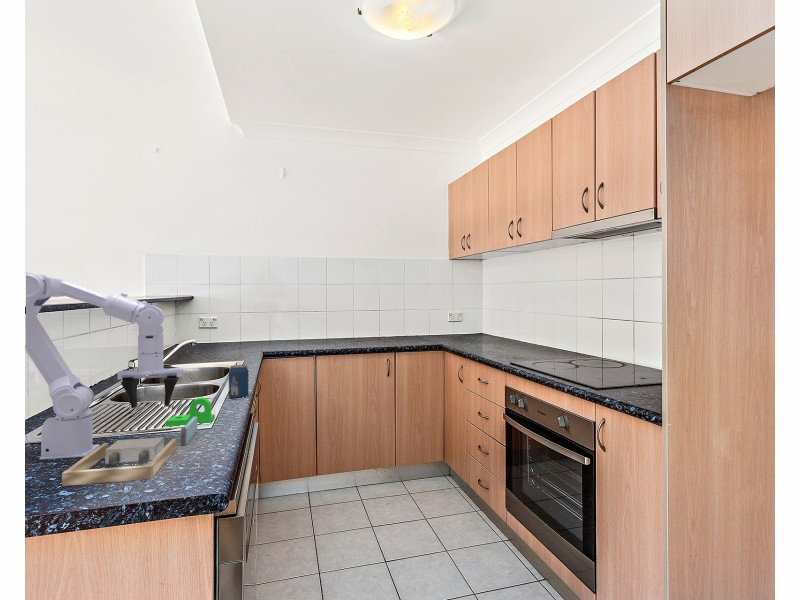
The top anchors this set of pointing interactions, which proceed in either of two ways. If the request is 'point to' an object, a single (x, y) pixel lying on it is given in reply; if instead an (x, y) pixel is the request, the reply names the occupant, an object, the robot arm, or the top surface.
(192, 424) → the bar
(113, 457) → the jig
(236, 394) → the dark blue carton
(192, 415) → the mechanical part
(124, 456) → the block
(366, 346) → the top surface
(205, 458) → the top surface
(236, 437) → the top surface
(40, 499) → the top surface
